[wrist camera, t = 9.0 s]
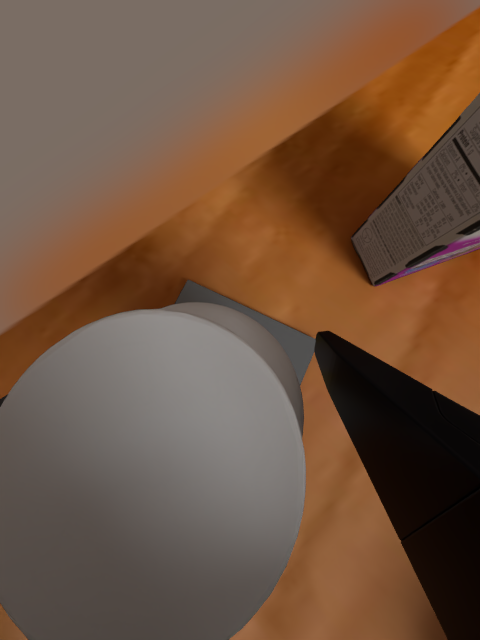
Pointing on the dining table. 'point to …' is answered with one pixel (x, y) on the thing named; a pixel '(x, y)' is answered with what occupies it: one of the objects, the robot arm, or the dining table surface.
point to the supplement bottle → (150, 478)
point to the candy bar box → (428, 208)
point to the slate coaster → (290, 339)
